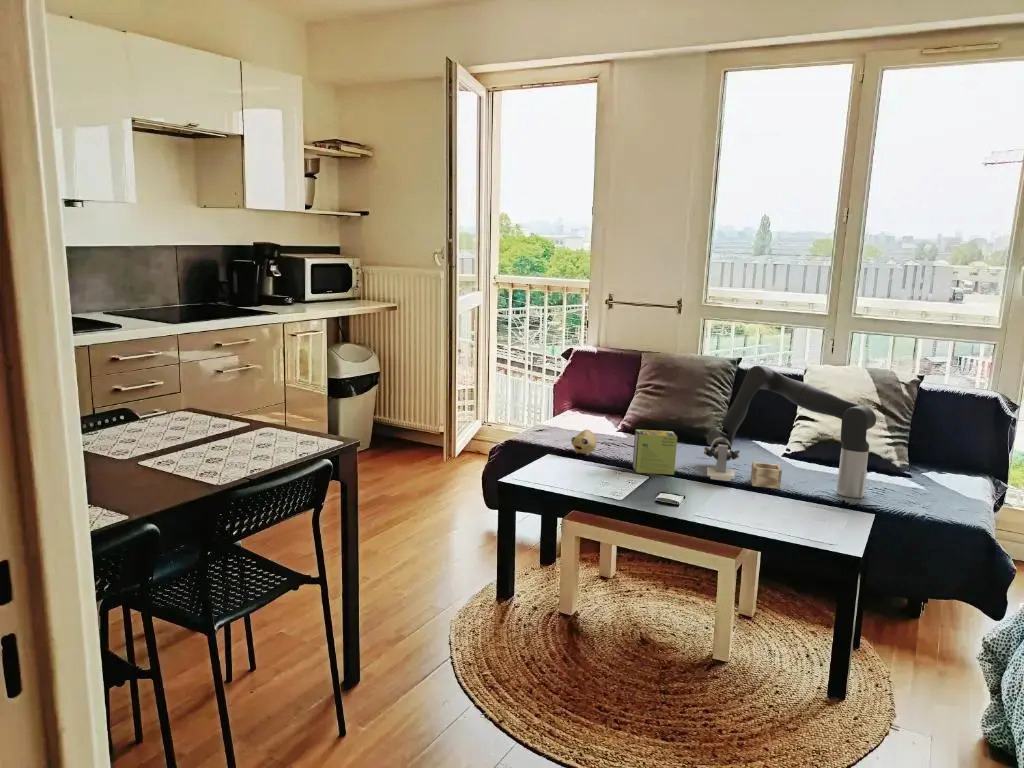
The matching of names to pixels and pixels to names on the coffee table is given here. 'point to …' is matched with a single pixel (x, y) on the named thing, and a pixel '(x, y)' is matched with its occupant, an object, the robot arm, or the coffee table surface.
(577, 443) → the yellow toy creature
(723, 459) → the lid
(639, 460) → the protein box
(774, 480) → the storage box
